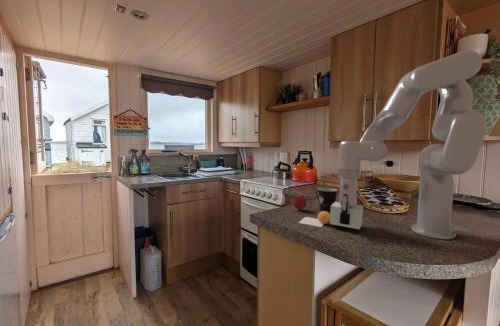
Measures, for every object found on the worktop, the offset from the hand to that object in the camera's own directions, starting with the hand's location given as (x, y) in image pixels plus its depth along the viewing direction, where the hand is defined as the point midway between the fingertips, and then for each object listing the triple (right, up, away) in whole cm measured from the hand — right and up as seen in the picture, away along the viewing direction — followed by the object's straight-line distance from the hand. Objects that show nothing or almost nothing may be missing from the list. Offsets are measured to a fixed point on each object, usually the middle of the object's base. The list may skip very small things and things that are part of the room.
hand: (346, 220), depth 90 cm
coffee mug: (0, -1, +26) cm, 26 cm away
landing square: (-11, -2, +7) cm, 13 cm away
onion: (-13, -1, +23) cm, 26 cm away
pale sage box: (0, -1, 0) cm, 1 cm away
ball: (-7, 0, +4) cm, 8 cm away
